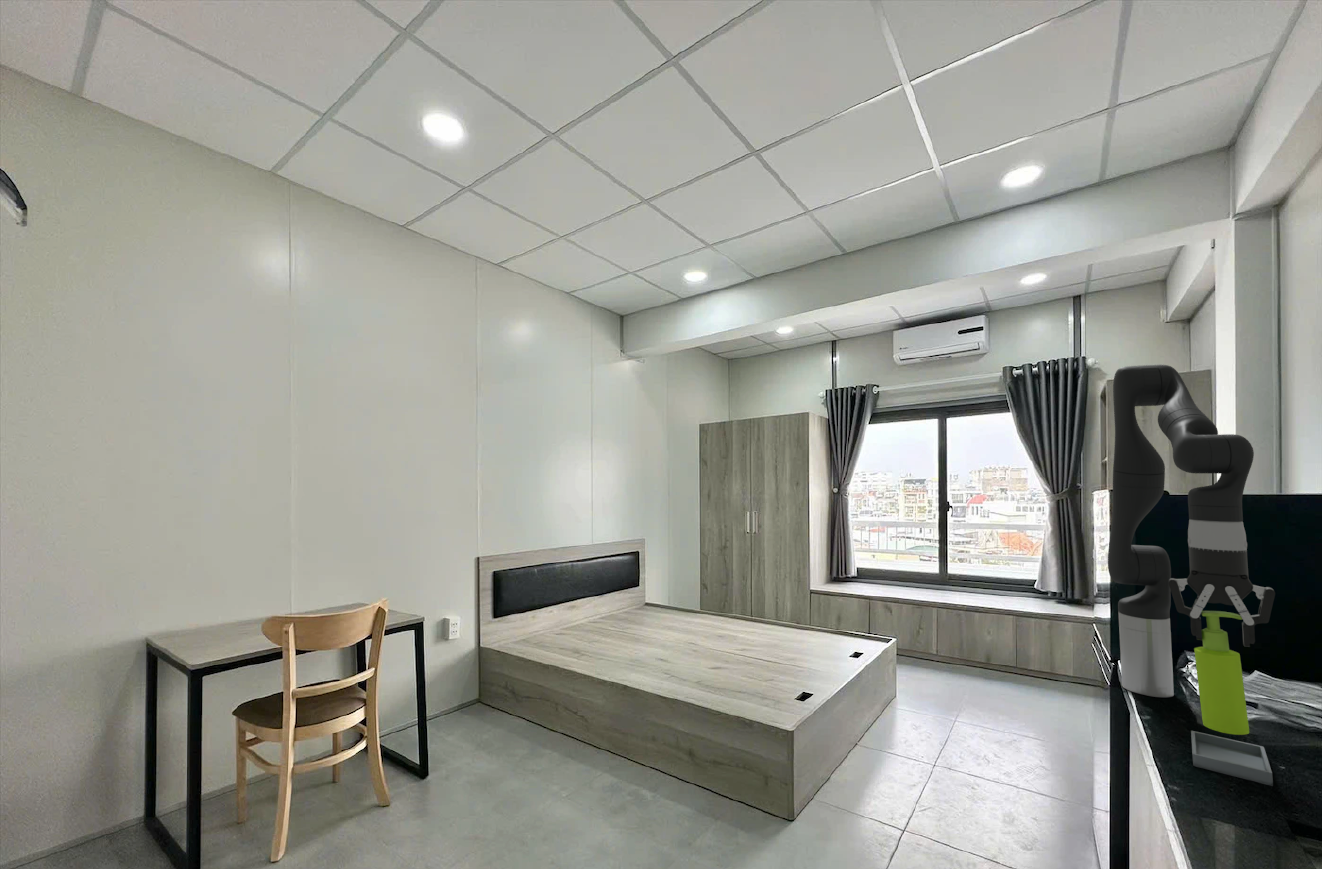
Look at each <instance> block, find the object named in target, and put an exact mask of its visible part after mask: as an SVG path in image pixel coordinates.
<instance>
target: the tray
mask: <svg viewBox="0 0 1322 869" xmlns="http://www.w3.org/2000/svg"><path fill="white" fill-rule="evenodd" d="M1190 734H1191V735H1190V737H1191V752H1192V766H1193V767H1196V768H1201V769H1205V770H1207V771H1208V770H1209V771H1212V772H1216V773H1219V774H1224V775H1228V776H1232V777H1235V778H1236V777H1237V778H1240V779H1242V780H1247V781H1251V782H1255V783H1259V784H1263V785H1267V786H1271V787H1274V780H1273V771H1272V769H1271V765H1270V761H1269V758H1268V756H1267V753H1266V749H1265V747H1264V746H1262V745H1258V744H1253V743H1250V742H1246V741H1245V742H1244V741H1239V740H1237V739H1236V740H1235V739H1231V738H1227V737H1222V736H1217V735H1213V734H1208V733H1204V732H1199V731H1194V730H1190Z"/></svg>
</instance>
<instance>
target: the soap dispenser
mask: <svg viewBox="0 0 1322 869" xmlns="http://www.w3.org/2000/svg"><path fill="white" fill-rule="evenodd" d="M1200 616H1202V617H1205V619H1206V627H1204V628H1203V629H1202V640H1201V641H1202V646H1196V647H1194V648H1193V650H1194V651H1193V652H1194V659H1195V668H1196V676H1197V677H1196V678H1197V686H1198V692H1199V693H1198V695H1199V703H1200V710H1201V718H1202V724H1203V726H1204V727H1205V728H1208V729H1210V730H1212V731H1216V732H1218V733H1223V734H1227V735H1236V736H1237V735H1238V736H1240V735H1241V736H1245V735H1248V734H1250V727H1249V719H1248V718H1249V717H1248V711H1247V710H1248V709H1247V703H1246V702H1247V701H1246V693H1245V684H1244V678H1243V669H1242V661H1241V655H1240V653H1239V652H1237V651H1234V650H1232V649H1230V644H1229V636H1228V632H1227V631H1225V630H1223V628H1222V629H1221V625H1220V624H1221V623H1220V618H1230V619H1231V618H1232V619H1236V620H1243V619H1242V617H1241V615H1240V614H1239V613H1234V612H1227V611H1221V610H1202V612H1201V614H1200Z"/></svg>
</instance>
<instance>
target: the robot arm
mask: <svg viewBox="0 0 1322 869" xmlns="http://www.w3.org/2000/svg"><path fill="white" fill-rule="evenodd" d="M1112 396H1113V399H1112V400H1113V416H1114V417H1113V418H1114V419H1113V420H1114V448H1113V449H1114V451H1113V455H1114V456H1113V464H1112V465H1113V466H1112V518H1111V525H1110V526H1111V528H1110V536H1109V544H1108V553H1107V568H1108V573H1109V574H1108V575H1109V577H1110V579H1111V580H1112V581H1113V582H1115V583H1116V584H1122V585H1132V586H1144V589H1143V590H1142V591H1140V592H1138V593H1137V594H1134V595H1131V596H1126V597H1123V598H1120V599H1119V601H1118V602H1117V611H1118V627H1119V648H1120V650H1119V651H1120V652H1119V653H1120V654H1119V655H1120V671H1121V672H1120V673H1121V674H1120V675H1121V686H1122V687H1123V688H1124V689H1126V690H1127V691H1130V692H1132V693H1135V694H1139V695H1144V696H1148V697H1153V698H1154V697H1155V698H1172V697H1174V695H1175V693H1174V672H1173V652H1172V632H1171V617H1170V613H1171V612H1170V611H1171V605H1172V602H1171V600H1172V598H1173V602H1174V605H1175V609H1176V611H1177V613H1179V614H1183V615H1186V616H1188V617H1189V619H1190V632H1191V634H1192V636H1194V637H1196V640H1197V641H1202V618H1201V612H1202V611H1204V608H1205V607H1206V605H1207V603H1208V604H1223V605H1225V606H1234V607H1235V609H1236V611H1237V612H1238V615H1241V617H1242V620H1243V621H1242V622H1241V629H1242V631H1241V632H1242V645H1243V646H1244V647H1248V648H1250V647H1251V645H1255V643H1256V635H1255V632H1256V631H1255V626H1256V625H1258V624H1268V623H1269V622H1270V619H1271V615H1272V614H1271V613H1272V611H1273V610H1272V609H1273V605H1274V601H1275V597H1276V592H1275V590H1274V589H1273V588H1272V587H1270V586H1266V587H1264V586H1259V585H1256V584H1253V583H1252V581H1251V580H1250V579H1249V568H1248V567H1249V566H1248V565H1249V564H1248V550H1247V549H1248V542H1247V534H1246V530H1245V527H1244V522H1243V521H1244V517H1243V515H1244V514H1243V496H1244V495H1243V494H1244V490H1245V486H1246V483H1247V479H1248V476H1249V473H1250V471H1251V468H1252V465H1253V462H1254V455H1255V451H1254V447H1253V445H1252V443H1251V442H1250V441H1249V440H1248V439H1247V438H1246V437H1244V436H1242V435H1239V434H1234V433H1233V434H1230V433H1227V434H1226V433H1224V434H1219V431H1218V428H1217V426H1216V424H1215V423H1214V422H1213V421H1212V420H1211V419H1210V418H1209V417H1208V416H1207V415H1206V414H1205V413H1203V411H1202V410H1200V408H1199V407H1198V406H1197V404H1196V402H1195V401H1194V399H1193V398H1192V395H1191V393H1190V391H1189V389H1188V387H1187V385H1186V384H1185V382H1184V380H1183V378H1182V376H1181V374H1180V373H1179V372H1178V371H1177V370H1176V369H1175V367H1173V366H1171V365H1169V364H1146V365H1145V364H1144V365H1143V364H1142V365H1129V366H1128V365H1127V366H1121V367H1118V369H1117V370H1116V371H1115V374H1114V377H1113V382H1112ZM1152 406H1153V407H1157V406H1163V407H1161V408H1160V411H1159V413H1158V415H1157V424H1158V427H1159V429H1160V430H1161V432H1162V433H1163V434H1164V435H1165V436H1166V438H1167V439H1168V440H1169V442H1170V444H1171V449H1172V458H1173V463H1174V465H1175V466H1176V467H1177V469H1180V470H1181V471H1183V472H1185V473H1189V474H1220V476H1219V478H1218V479H1217V481H1216V482H1215V483H1213V484H1210V485H1204V486H1200V487H1194V488H1192V489H1190V490H1188V493H1187V506H1188V519H1189V520H1188V526H1187V527H1188V529H1187V544H1188V557H1189V558H1188V560H1189V574H1188V576H1187V577H1186V578H1174V577H1172V567H1171V560H1170V557H1169V554H1168V552H1167V551H1166V550H1165V549H1164V548H1163V547H1161V546H1158V545H1143V544H1142V545H1140V544H1133V543H1132V542H1133V538H1134V535H1135V532H1136V530H1137V528H1138V527H1139V525H1140V523H1141V522H1142V521H1143V520H1144V518H1145V517H1146V516H1148V514H1149V513H1150V512H1151V511H1152V509H1154V507H1155V506H1156V505H1157V504H1158V503H1159V501H1160V500H1161V498H1162V496H1163V495H1164V491H1165V481H1166V480H1165V478H1166V472H1165V471H1166V466H1165V462H1164V460H1163V458H1162V456H1161V455H1160V454H1159V452H1158V451H1157V449H1156V448H1155V447H1154V445H1152V443H1151V442H1150V440H1148V439H1147V437H1146V436H1145V434H1144V433H1143V431H1142V430H1141V427H1140V426H1139V423H1138V420H1137V416H1136V407H1152ZM1186 585H1188V586H1189V587H1190V588H1191V589H1192V590H1193V591H1194V592H1195V593H1196V595H1197V596H1196V598H1195V600H1194V603H1193V605H1192V606H1191V607H1188V606H1186V605H1185V602H1184V599H1183V596H1182V593H1181V592H1183V591H1184V590H1185V589H1186V588H1185V587H1186ZM1251 592H1255V596H1256V597H1257V599H1258V600H1260V604H1259V607H1258V612H1257V614H1252V615H1251V613H1250V611H1249V610H1248V609H1247V607H1246V605H1245V604H1244V602H1243V600H1244V599H1245V598H1246V597H1247V596H1248V595H1249V594H1250V593H1251ZM1171 595H1172V596H1171ZM1171 597H1172V598H1171Z"/></svg>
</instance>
